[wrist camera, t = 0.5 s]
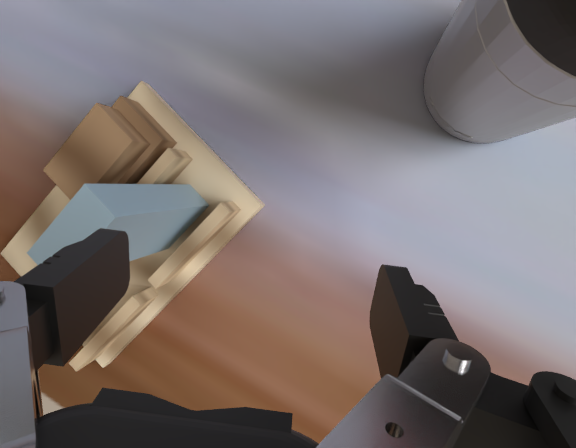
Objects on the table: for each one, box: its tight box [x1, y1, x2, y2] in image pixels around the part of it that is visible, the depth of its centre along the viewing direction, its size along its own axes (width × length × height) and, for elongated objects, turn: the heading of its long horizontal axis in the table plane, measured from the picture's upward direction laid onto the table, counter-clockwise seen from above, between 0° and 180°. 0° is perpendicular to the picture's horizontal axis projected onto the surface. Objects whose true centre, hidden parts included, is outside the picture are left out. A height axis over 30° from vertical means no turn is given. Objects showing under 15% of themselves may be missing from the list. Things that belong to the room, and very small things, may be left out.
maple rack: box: [0, 81, 265, 372], centre depth 34 cm, size 22×15×4 cm
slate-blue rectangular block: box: [27, 184, 209, 265], centre depth 28 cm, size 6×2×13 cm, turn 135°
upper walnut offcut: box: [43, 103, 150, 200], centre depth 31 cm, size 7×4×2 cm, turn 135°
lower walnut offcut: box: [112, 96, 177, 184], centre depth 33 cm, size 9×5×2 cm, turn 135°
